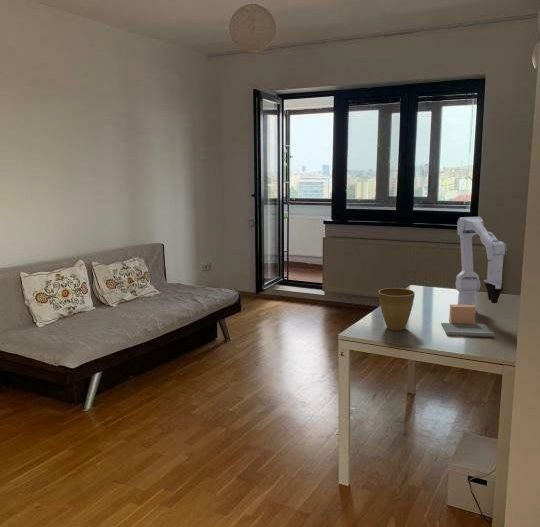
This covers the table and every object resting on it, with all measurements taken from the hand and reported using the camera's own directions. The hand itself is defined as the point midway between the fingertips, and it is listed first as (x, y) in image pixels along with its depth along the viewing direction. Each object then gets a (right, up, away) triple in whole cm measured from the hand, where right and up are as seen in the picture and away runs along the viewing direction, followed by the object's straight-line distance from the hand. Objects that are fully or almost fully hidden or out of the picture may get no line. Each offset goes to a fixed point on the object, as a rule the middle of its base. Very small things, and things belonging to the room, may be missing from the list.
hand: (492, 301), depth 231 cm
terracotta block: (-12, -10, +5) cm, 16 cm away
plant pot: (-42, -11, -1) cm, 43 cm away
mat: (-13, -12, -5) cm, 18 cm away
